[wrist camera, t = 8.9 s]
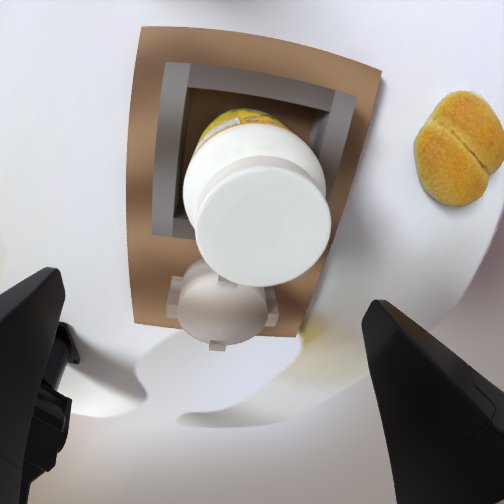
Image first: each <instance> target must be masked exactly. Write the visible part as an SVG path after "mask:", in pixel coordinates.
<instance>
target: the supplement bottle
mask: <svg viewBox="0 0 504 504" xmlns="http://www.w3.org/2000/svg"><path fill="white" fill-rule="evenodd" d="M325 196H326V185H325V178H324V174H323V170H322V168H321V165H320V163H319V161H318V159H317V157H316V156H315V154H314V153H313V151H312V150H311V149H310V148H309V146H308V145H307V144H306V143H305V142H304V141H302V140H301V139H300V138H299V137H298V136H297V135H296V134H294V133H293V132H292V131H291V130H290V129H288V128H287V127H286V126H285V125H283V124H282V123H281V122H280V121H279V120H277V119H276V118H275V117H273V116H271V115H269V114H267V113H265V112H262V111H259V110H254V109H247V108H241V109H234V110H230V111H227V112H225V113H223V114H221V115H219V116H218V117H217V118H215V119H214V120H213V121H212V122H211V123H210V124H209V125H208V126H207V127H206V129H205V130H204V132H203V134H202V135H201V137H200V140H199V142H198V144H197V147H196V149H195V151H194V154H193V156H192V159H191V161H190V163H189V166H188V169H187V172H186V175H185V179H184V185H183V200H184V206H185V210H186V213H187V216H188V218H189V221H190V223H191V224H192V226H193V228H194V229H195V236H196V242H197V245H198V248H199V251H200V253H201V255H202V257H203V258H204V260H205V261H206V263H207V264H208V265H209V266H210V267H211V268H212V269H213V270H214V271H215V272H216V273H217V274H219V275H220V276H222V277H223V278H225V279H227V280H229V281H231V282H234V283H237V284H241V285H245V286H253V287H267V286H274V285H278V284H282V283H285V282H287V281H291V280H293V279H295V278H296V277H298V276H300V275H301V274H303V273H304V272H306V271H307V270H308V269H310V268H311V267H312V266H313V265H314V264H315V263H316V261H317V260H318V259H319V258H320V256H321V255H322V253H323V252H324V250H325V248H326V246H327V244H328V241H329V238H330V233H331V215H330V210H329V207H328V204H327V201H326V199H325Z"/></svg>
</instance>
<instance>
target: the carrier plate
mask: <svg viewBox="0 0 504 504" xmlns="http://www.w3.org/2000/svg"><path fill="white" fill-rule="evenodd" d="M381 73H382V71H381V70H378V69H376V68H373V67H370V66H368V65H365V64H362V63H360V62H357V61H354V60H351V59H348V58H345V57H342V56H339V55H336V54H333V53H329V52H326V51H323V50H319V49H316V48H312V47H308V46H304V45H300V44H296V43H292V42H288V41H283V40H279V39H274V38H269V37H264V36H258V35H252V34H246V33H239V32H232V31H224V30H215V29H204V28H190V27H162V26H149V27H142V28H141V33H140V38H139V44H138V50H137V56H136V63H135V70H134V77H133V85H132V94H131V103H130V114H129V126H128V142H127V166H126V222H127V246H128V263H129V276H130V287H131V297H132V306H133V315H134V322H135V323H137V324H144V325H151V326H159V327H167V328H176V329H184V330H185V331H186V332H187V333H188V334H189V335H191V336H192V337H193V338H195V339H197V340H199V341H202V342H205V343H209V350H213V351H225V349H226V345H232V344H238V343H241V342H244V341H246V340H249V339H251V338H252V337H254V336H274V337H296V335H297V332H298V330H299V327H300V325H301V323H302V320H303V318H304V315H305V313H306V310H307V308H308V305H309V303H310V300H311V298H312V295H313V293H314V290H315V287H316V285H317V282H318V280H319V277H320V274H321V272H322V269H323V266H324V264H325V261H326V258H327V255H328V253H329V250H330V247H331V244H332V241H333V239H334V236H335V233H336V230H337V227H338V224H339V221H340V218H341V215H342V212H343V209H344V206H345V203H346V200H347V197H348V194H349V191H350V187H351V184H352V181H353V178H354V175H355V171H356V168H357V165H358V161H359V158H360V154H361V151H362V147H363V144H364V140H365V137H366V133H367V129H368V126H369V122H370V118H371V114H372V110H373V106H374V102H375V98H376V94H377V90H378V86H379V82H380V77H381ZM241 108H247V109H254V110H259V111H262V112H265V113H267V114H269V115H271V116H273V117H275V118H276V119H277V120H279V121H280V122H281V123H282V124H283V125H285V126H286V127H287V128H288V129H290V130H291V131H292V132H293V133H294V134H296V135H297V136H298V137H299V138H300V139H301V140H302V141H304V142H305V143H306V144H307V145H308V146H309V148H310V149H311V150H312V151H313V153H314V154H315V156H316V157H317V159H318V161H319V163H320V165H321V168H322V170H323V174H324V178H325V185H326V196H325V199H326V201H327V204H328V207H329V210H330V215H331V233H330V238H329V241H328V244H327V246H326V248H325V250H324V252H323V253H322V255H321V256H320V258H319V259H318V260H317V261H316V263H315V264H314V265H313V266H312V267H311V268H310V269H308V270H307V271H306V272H304V273H303V274H301V275H300V276H298V277H296V278H295V279H293V280H291V281H287V282H285V283H282V284H278V285H274V286H267V287H253V286H245V285H241V284H237V283H234V282H231V281H229V280H227V279H225V278H223V277H222V276H220V275H219V274H217V273H216V272H215V271H214V270H213V269H212V268H211V267H210V266H209V265H208V264H207V263H206V261H205V260H204V258H203V257H202V255H201V253H200V251H199V248H198V245H197V242H196V236H195V229H194V228H193V226H192V224H191V223H190V221H189V218H188V216H187V213H186V210H185V206H184V200H183V185H184V179H185V175H186V172H187V169H188V166H189V163H190V161H191V159H192V156H193V154H194V151H195V149H196V147H197V144H198V142H199V140H200V137H201V135H202V134H203V132H204V130H205V129H206V127H207V126H208V125H209V124H210V123H211V122H212V121H213V120H214V119H215V118H217V117H218V116H219V115H221V114H223V113H225V112H227V111H230V110H234V109H241Z"/></svg>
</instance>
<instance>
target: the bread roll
mask: <svg viewBox="0 0 504 504" xmlns="http://www.w3.org/2000/svg"><path fill="white" fill-rule="evenodd" d="M414 156H415V162H416V167H417V173H418V176H419V179H420V182H421V184H422V186H423V188H424V190H425V191H426V192H427V193H428V194H429V195H430V196H432V197H433V198H434V199H435V200H437V201H438V202H440V203H442V204H444V205H449V206H454V207H460V206H465V205H467V204H470V203H472V202H473V201H475V200H477V199H478V198H479V197H481V196H482V195H483V193H484V191H485V190H486V187H487V185H488V178H489V175H490V174H492V173H494V172H495V171H496V170H497V169H498V168H499V167H500V166H501V164H502V162H503V160H504V130H503V128H502V125H501V123H500V120H499V119H498V118H497V116H496V114H495V112H494V111H493V110H492V108H491V107H490V105H489V104H488V102H487V101H486V100H485V99H484V98H483V97H482V96H481V95H479V94H478V93H476V92H469V91H468V92H467V91H456V92H452V93H450V94H449V95H447V96H446V97H445V98H443V99H442V100H441V101H440V103H439V104H438V105H437V106H436V107H435V109H434V111H433V112H432V114H431V115H430V117H429V119H428V121H427V122H426V123H425V124H424V125H423V126H422V128H421V129H420V131H419V132H418V134H417V136H416V138H415V141H414Z"/></svg>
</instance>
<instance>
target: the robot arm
mask: <svg viewBox="0 0 504 504" xmlns="http://www.w3.org/2000/svg"><path fill="white" fill-rule="evenodd" d="M64 301H65V289H64V285H63V281H62V277H61V273H60V271H59V269H57V268H52V267H45V268H43V269H41V270H40V271H38V272H36V273H35V274H33V275H31V276H30V277H28V278H26V279H25V280H23V281H21V282H20V283H18V284H16V285H15V286H13V287H12V288H10V289H8V290H7V291H5V292H4V293H2V294H1V295H0V504H27V501H28V495H29V489H30V484H31V482H33V481H34V480H35V479H37V478H38V477H39V476H40V475H42V474H43V473H44V472H45V471H46V472H49V471H50V470H51V469H52V468H53V467H54V466H55V464H56V457H57V453H59V452H60V451H61V450H62V448H63V446H64V444H65V442H66V438H67V435H68V429H69V420H70V412H71V404H72V399H70V398H68V397H65V396H64V395H62V394H60V393H59V392H57V390H58V387H59V384H60V381H61V378H62V375H63V372H64V370H65V367H66V364H67V362H69V363H73V364H79V363H80V358H79V356H78V353H77V351H76V348H75V346H74V343H73V340H72V338H71V335H70V332H69V329H68V327H67V325H66V324H64V323H60V322H59V318H60V315H61V311H62V308H63V304H64ZM362 332H363V337H364V343H365V349H366V354H367V361H368V366H369V371H370V375H371V379H372V383H373V387H374V391H375V395H376V399H377V403H378V407H379V411H380V416H381V420H382V424H383V429H384V434H385V438H386V443H387V448H388V453H389V458H390V464H391V468H392V474H393V480H394V484H395V485H394V487H395V494H396V500H397V504H504V392H503V391H501V390H500V389H499V388H497V387H496V386H495V385H493V384H492V383H491V382H489V381H488V380H487V379H486V378H484V377H483V376H482V375H480V374H479V373H478V372H477V371H476V370H474V369H473V368H472V367H471V366H469V365H468V364H467V363H466V362H465V361H463V360H462V359H461V358H460V357H458V356H457V355H456V354H455V353H453V352H452V351H451V350H450V349H449V348H447V347H446V346H445V345H444V344H442V343H441V342H439V341H438V340H437V339H436V338H435V337H433V336H432V335H431V334H430V333H428V332H427V331H426V330H424V329H423V328H422V327H421V326H419V325H418V324H417V323H415V322H414V321H413V320H412V319H410V318H409V317H408V316H406V315H405V314H404V313H402V312H401V311H400V310H398V309H397V308H396V307H395V306H393V305H392V304H391V303H389V302H388V301H386V300H373V301H372V302H371V304H370V306H369V308H368V310H367V312H366V313H365V315H364V317H363V319H362Z"/></svg>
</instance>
